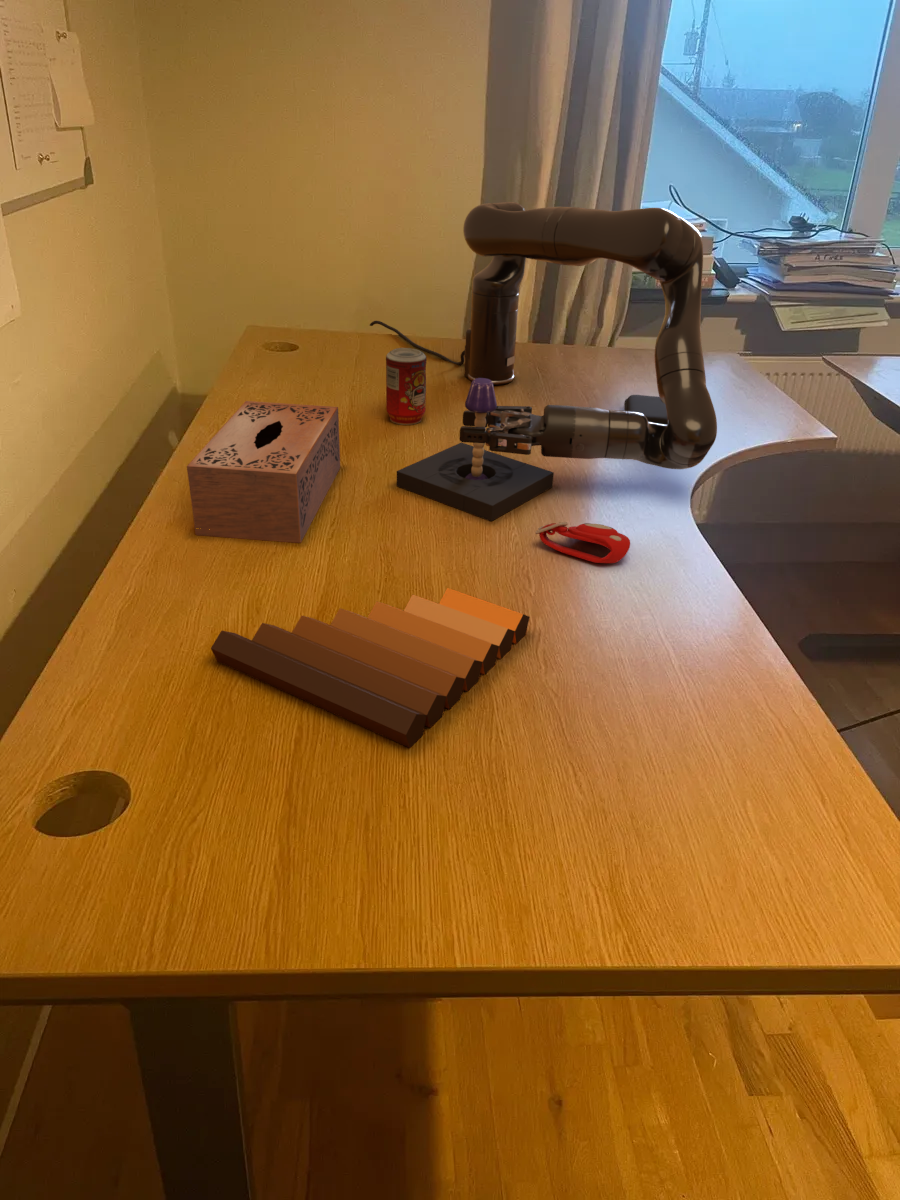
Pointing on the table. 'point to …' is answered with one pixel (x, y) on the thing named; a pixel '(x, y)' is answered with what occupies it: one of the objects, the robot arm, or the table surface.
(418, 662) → the brown ridged flat slab
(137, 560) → the table surface
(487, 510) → the socket pad
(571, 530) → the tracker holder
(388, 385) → the soda can
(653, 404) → the carrying case
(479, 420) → the toy lamp
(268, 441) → the tissue box cover
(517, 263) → the robot arm
